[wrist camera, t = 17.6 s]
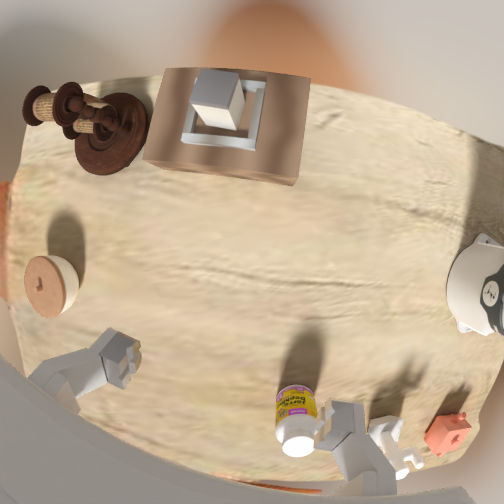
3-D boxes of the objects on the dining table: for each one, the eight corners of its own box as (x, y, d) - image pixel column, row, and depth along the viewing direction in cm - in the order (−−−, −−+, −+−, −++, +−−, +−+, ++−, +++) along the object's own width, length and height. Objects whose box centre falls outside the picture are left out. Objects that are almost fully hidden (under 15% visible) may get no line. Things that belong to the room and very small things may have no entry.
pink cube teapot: (464, 399, 42) (481, 418, 34) (441, 439, 44) (454, 458, 35) (441, 401, 43) (459, 422, 34) (417, 442, 44) (430, 464, 36)
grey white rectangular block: (245, 103, 32) (238, 73, 24) (236, 130, 32) (226, 106, 24) (215, 97, 32) (201, 68, 24) (206, 125, 33) (188, 100, 25)
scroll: (163, 99, 40) (104, 39, 20) (137, 183, 42) (55, 162, 22) (97, 97, 41) (30, 55, 21) (74, 170, 43) (-7, 154, 23)
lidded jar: (70, 240, 44) (36, 244, 35) (97, 290, 44) (65, 303, 35) (43, 270, 45) (11, 278, 36) (67, 316, 46) (37, 330, 36)
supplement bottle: (307, 377, 43) (316, 425, 31) (318, 404, 44) (328, 453, 31) (269, 390, 44) (268, 439, 31) (283, 416, 45) (284, 465, 32)
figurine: (358, 416, 44) (380, 470, 29) (402, 407, 43) (432, 453, 28) (354, 441, 44) (371, 493, 30) (396, 431, 44) (420, 478, 29)
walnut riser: (304, 101, 39) (312, 73, 29) (292, 186, 40) (299, 176, 31) (181, 90, 40) (162, 63, 30) (164, 169, 41) (137, 157, 32)
